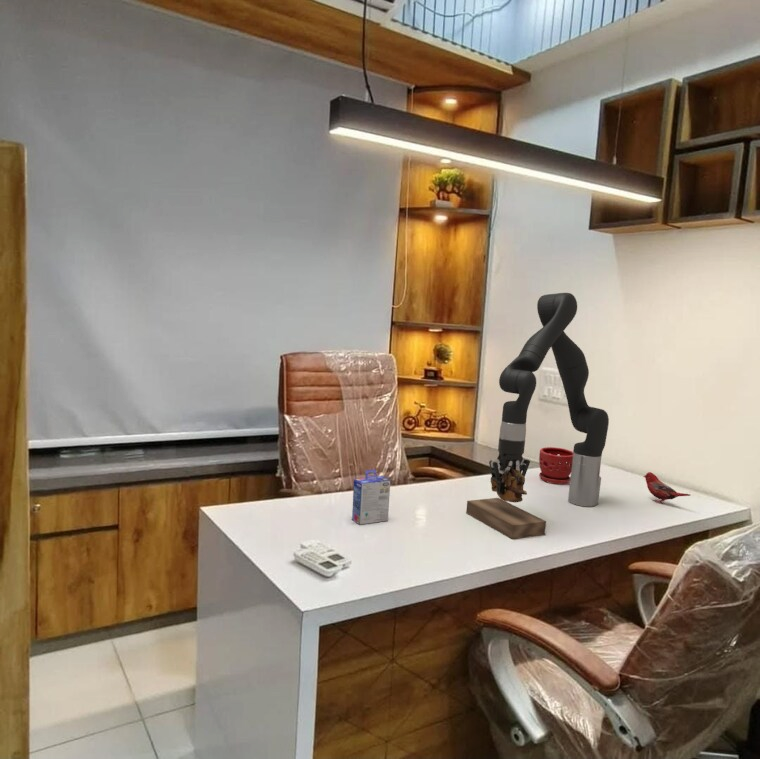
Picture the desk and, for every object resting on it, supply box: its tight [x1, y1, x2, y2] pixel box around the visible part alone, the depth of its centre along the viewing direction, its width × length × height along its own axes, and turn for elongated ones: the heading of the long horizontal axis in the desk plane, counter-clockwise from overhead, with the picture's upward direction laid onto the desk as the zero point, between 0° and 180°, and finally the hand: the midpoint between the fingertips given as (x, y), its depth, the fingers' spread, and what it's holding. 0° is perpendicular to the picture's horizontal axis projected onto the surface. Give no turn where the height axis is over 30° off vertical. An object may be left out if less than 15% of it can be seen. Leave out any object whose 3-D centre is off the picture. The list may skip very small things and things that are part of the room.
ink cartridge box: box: [351, 469, 391, 525], centre depth 173 cm, size 10×6×14 cm, turn 121°
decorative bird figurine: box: [642, 472, 691, 505], centre depth 210 cm, size 3×18×10 cm, turn 34°
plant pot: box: [538, 446, 573, 485], centre depth 231 cm, size 13×13×12 cm
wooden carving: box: [490, 469, 528, 503], centre depth 178 cm, size 16×5×10 cm, turn 25°
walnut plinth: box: [465, 497, 547, 540], centre depth 179 cm, size 12×22×4 cm, turn 27°
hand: (506, 493), depth 178 cm, fingers closed on wooden carving, 4 cm apart
